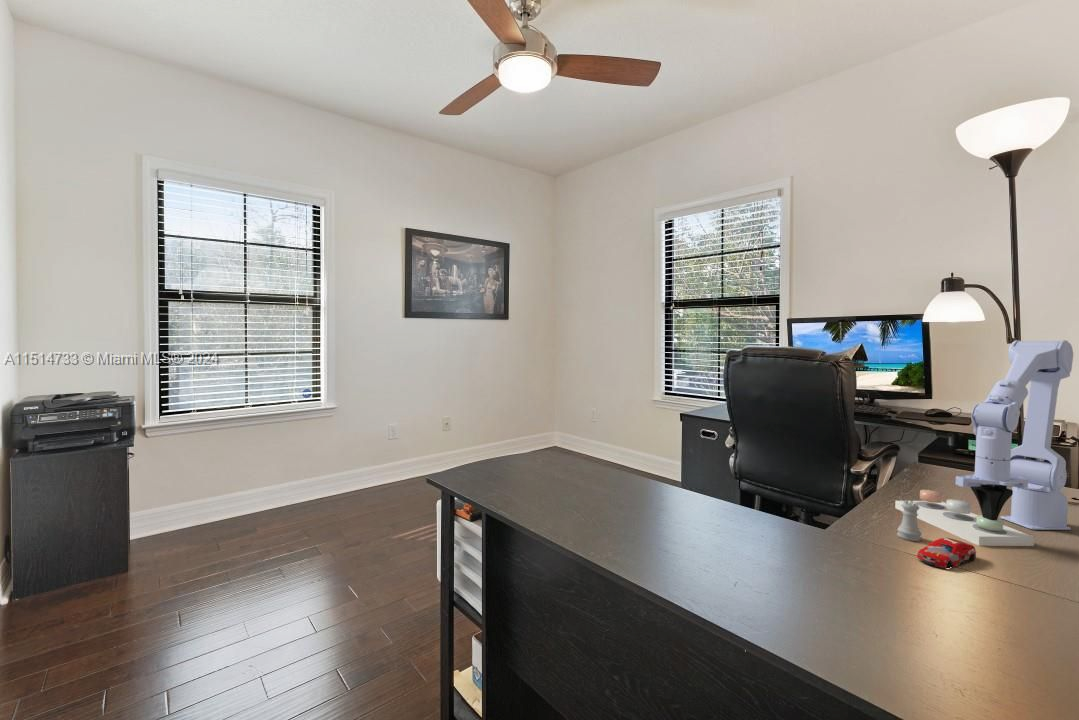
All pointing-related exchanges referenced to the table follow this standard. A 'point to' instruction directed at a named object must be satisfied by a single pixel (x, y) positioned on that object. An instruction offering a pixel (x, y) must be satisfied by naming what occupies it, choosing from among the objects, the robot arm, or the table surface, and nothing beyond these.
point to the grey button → (958, 506)
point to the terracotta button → (931, 496)
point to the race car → (947, 553)
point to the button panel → (967, 526)
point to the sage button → (989, 523)
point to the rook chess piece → (909, 522)
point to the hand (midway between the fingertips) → (989, 519)
